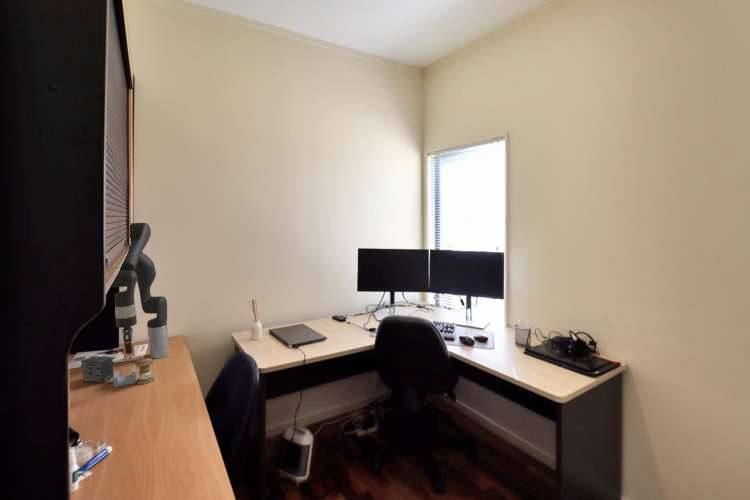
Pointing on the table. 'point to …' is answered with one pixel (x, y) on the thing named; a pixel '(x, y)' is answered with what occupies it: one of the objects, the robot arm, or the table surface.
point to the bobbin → (144, 371)
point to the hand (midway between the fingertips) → (129, 351)
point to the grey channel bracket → (124, 378)
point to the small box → (97, 369)
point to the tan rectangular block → (130, 353)
